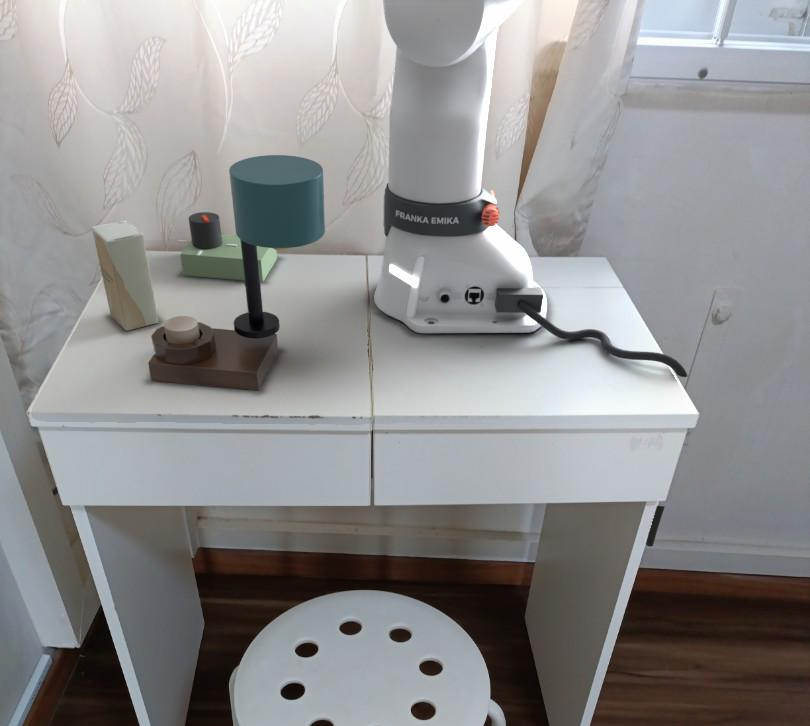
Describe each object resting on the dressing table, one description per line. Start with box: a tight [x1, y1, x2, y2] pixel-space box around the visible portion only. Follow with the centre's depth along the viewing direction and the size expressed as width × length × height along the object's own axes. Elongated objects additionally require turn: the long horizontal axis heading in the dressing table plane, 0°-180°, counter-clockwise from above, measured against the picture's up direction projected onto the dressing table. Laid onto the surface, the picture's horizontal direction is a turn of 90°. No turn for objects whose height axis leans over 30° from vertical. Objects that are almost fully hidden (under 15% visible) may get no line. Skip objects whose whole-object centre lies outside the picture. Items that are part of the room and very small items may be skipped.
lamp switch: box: [163, 315, 200, 344], centre depth 87 cm, size 4×4×2 cm
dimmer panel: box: [177, 233, 278, 283], centre depth 109 cm, size 13×8×3 cm, turn 83°
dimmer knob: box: [188, 211, 222, 249], centre depth 107 cm, size 4×4×4 cm
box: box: [91, 219, 159, 332], centre depth 94 cm, size 5×4×11 cm
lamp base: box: [147, 321, 279, 391], centre depth 89 cm, size 12×9×4 cm
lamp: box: [228, 154, 326, 338], centre depth 83 cm, size 10×9×17 cm
